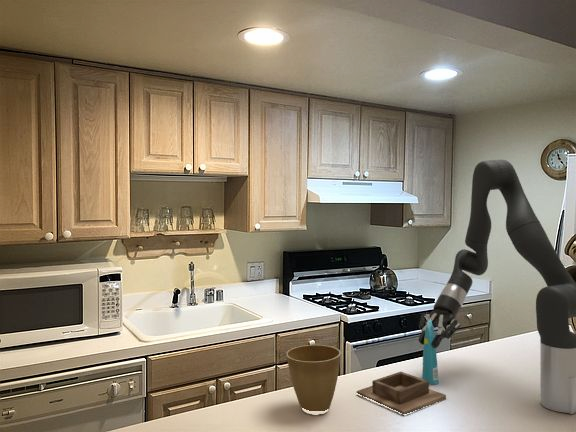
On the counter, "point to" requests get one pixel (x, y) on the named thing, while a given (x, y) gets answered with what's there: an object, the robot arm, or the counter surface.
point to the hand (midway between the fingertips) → (427, 344)
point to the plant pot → (314, 375)
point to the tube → (429, 356)
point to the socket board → (402, 392)
